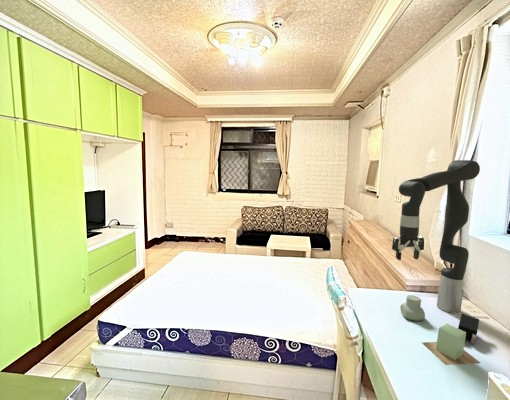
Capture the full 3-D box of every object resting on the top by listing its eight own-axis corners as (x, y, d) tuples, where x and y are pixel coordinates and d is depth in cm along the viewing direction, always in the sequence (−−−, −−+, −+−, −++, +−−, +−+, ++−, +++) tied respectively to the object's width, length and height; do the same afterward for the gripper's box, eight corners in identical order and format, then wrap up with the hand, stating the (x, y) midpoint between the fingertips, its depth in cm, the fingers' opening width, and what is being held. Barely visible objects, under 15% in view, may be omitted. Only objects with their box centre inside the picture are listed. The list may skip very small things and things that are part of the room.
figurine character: (475, 354, 105) (477, 333, 116) (478, 337, 103) (480, 317, 114) (454, 345, 109) (458, 326, 120) (456, 329, 108) (460, 311, 119)
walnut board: (452, 343, 108) (453, 341, 108) (480, 365, 96) (480, 362, 96) (420, 344, 107) (421, 342, 107) (445, 367, 95) (445, 364, 95)
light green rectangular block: (443, 344, 106) (446, 323, 105) (462, 354, 100) (466, 332, 99) (435, 349, 103) (438, 328, 101) (454, 360, 97) (458, 337, 96)
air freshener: (426, 325, 120) (428, 304, 119) (406, 322, 122) (408, 302, 121) (416, 312, 131) (418, 293, 130) (398, 310, 133) (400, 291, 131)
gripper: (400, 227, 117) (398, 262, 118) (430, 226, 118) (427, 261, 120) (389, 223, 124) (387, 257, 126) (417, 222, 126) (415, 255, 128)
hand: (407, 259), depth 123 cm, fingers open, 8 cm apart
